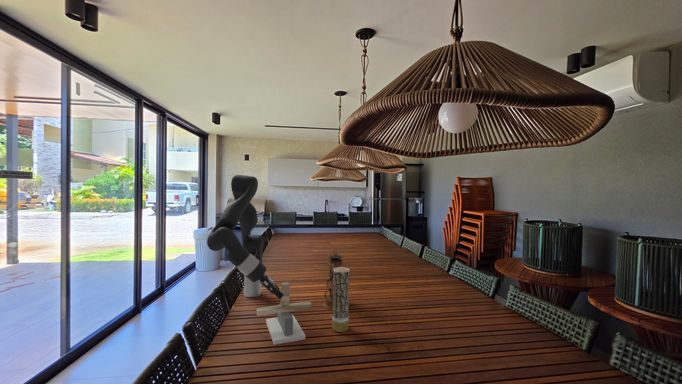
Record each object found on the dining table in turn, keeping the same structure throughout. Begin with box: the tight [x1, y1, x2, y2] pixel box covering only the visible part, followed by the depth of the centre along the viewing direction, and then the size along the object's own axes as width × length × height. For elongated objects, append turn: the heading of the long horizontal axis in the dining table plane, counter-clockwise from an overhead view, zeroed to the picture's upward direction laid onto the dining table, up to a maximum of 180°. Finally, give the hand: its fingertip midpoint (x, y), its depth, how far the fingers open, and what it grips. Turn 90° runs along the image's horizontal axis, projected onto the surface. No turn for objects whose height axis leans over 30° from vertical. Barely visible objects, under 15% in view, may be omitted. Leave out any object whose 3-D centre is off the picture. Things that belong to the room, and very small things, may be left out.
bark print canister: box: [331, 266, 351, 333], centre depth 117 cm, size 7×7×25 cm
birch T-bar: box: [256, 282, 312, 317], centre depth 115 cm, size 3×22×11 cm, turn 113°
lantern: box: [322, 249, 344, 311], centre depth 143 cm, size 17×13×30 cm
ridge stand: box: [265, 303, 306, 346], centre depth 115 cm, size 20×12×8 cm, turn 23°
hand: (279, 293), depth 114 cm, fingers open, 8 cm apart
